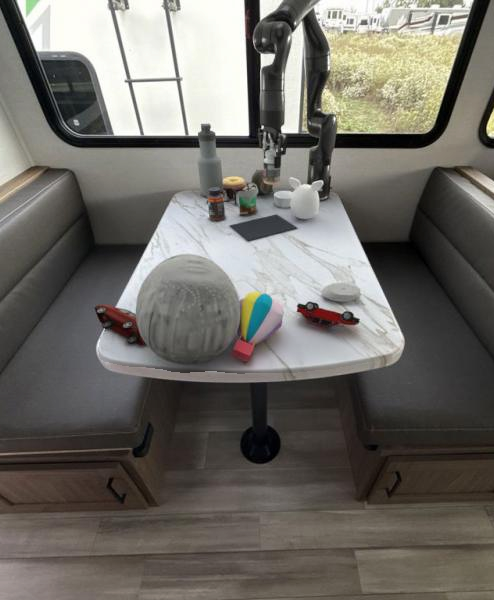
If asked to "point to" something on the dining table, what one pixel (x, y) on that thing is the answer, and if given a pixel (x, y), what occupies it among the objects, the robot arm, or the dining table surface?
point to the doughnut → (233, 183)
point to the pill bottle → (271, 169)
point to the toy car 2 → (325, 315)
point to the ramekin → (283, 199)
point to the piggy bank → (305, 198)
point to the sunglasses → (229, 195)
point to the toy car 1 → (120, 322)
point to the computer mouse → (341, 292)
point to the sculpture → (187, 309)
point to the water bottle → (209, 161)
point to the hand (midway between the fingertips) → (272, 165)
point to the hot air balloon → (256, 322)
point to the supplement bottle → (216, 204)
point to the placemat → (262, 227)
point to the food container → (248, 199)
